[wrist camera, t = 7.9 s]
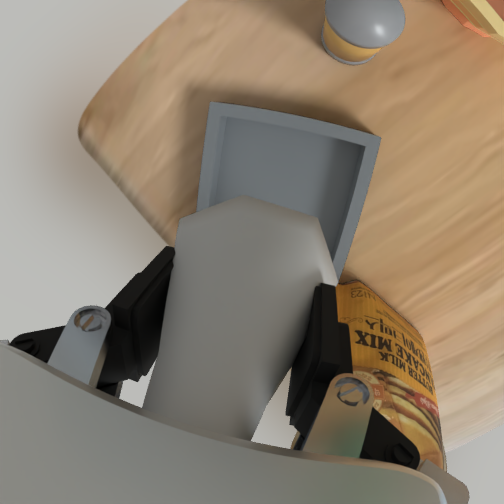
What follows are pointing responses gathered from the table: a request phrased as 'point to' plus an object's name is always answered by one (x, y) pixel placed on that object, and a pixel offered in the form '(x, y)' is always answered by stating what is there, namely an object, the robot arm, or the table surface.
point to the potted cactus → (480, 16)
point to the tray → (289, 167)
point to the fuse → (360, 28)
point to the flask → (236, 312)
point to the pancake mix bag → (392, 367)
